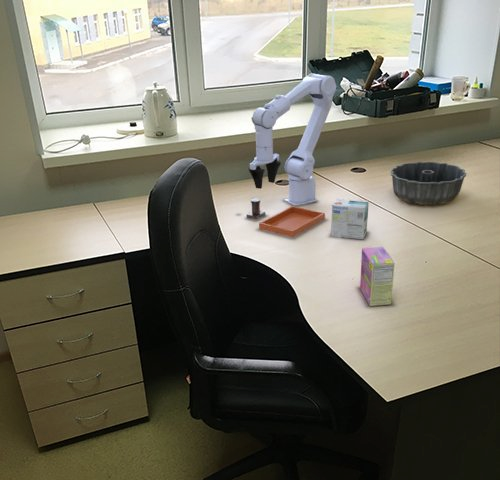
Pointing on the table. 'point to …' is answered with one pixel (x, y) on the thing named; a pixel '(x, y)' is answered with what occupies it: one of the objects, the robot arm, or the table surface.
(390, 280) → the box
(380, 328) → the table surface
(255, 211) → the stamp
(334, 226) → the light bulb box
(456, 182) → the bundt pan
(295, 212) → the tray
